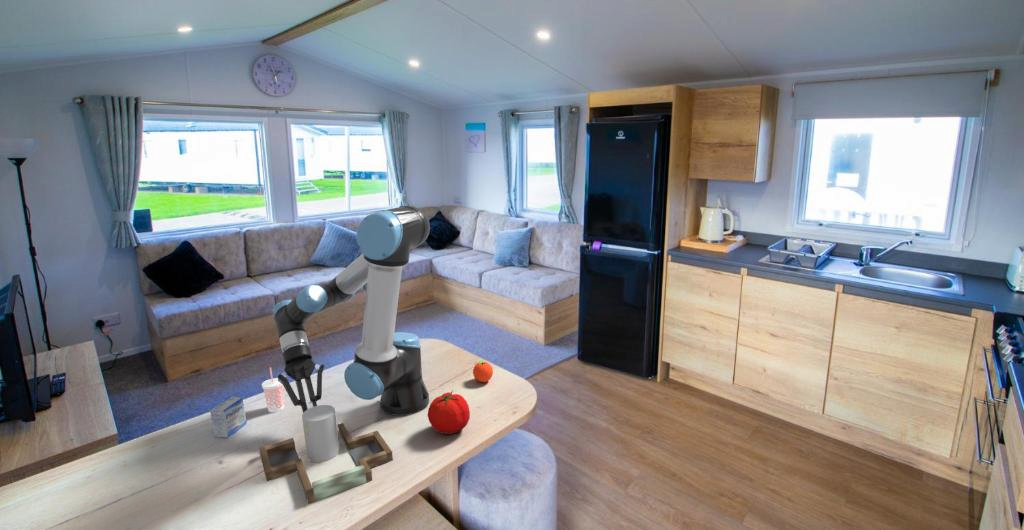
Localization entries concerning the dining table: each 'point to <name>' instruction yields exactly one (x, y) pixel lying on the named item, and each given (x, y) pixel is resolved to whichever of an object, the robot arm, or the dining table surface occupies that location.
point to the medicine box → (228, 417)
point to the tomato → (448, 413)
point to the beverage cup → (273, 394)
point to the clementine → (482, 371)
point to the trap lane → (365, 454)
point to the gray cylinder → (320, 433)
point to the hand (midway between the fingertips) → (314, 425)
